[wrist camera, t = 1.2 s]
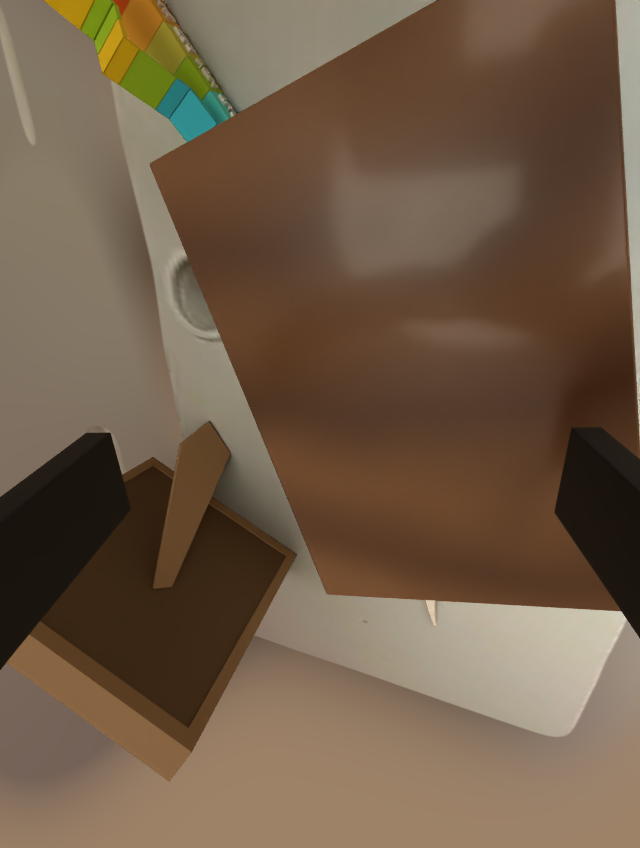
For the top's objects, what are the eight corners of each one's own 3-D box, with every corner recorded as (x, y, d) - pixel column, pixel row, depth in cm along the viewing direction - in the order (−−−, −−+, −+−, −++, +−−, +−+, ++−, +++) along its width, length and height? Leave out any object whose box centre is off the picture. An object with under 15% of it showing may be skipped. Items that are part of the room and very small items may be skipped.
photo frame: (283, 572, 56) (153, 797, 35) (146, 478, 57) (-56, 643, 37) (334, 503, 47) (202, 748, 27) (171, 394, 49) (-73, 549, 28)
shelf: (351, 173, 32) (148, 163, 14) (540, 92, 26) (610, -101, 8) (411, 402, 39) (326, 595, 21) (572, 377, 33) (649, 614, 15)
